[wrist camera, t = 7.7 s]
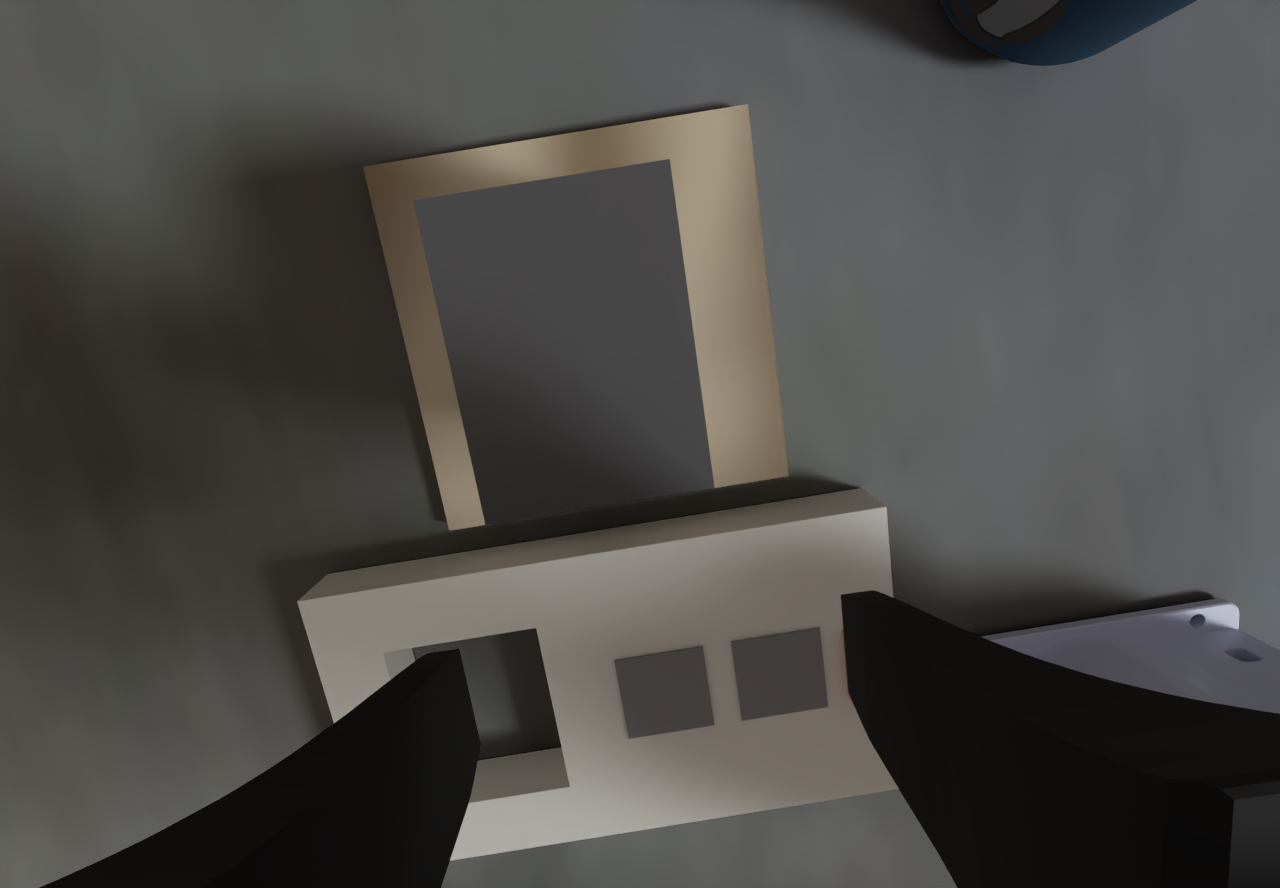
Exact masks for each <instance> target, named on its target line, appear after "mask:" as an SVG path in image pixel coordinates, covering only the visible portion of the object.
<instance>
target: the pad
mask: <svg viewBox="0 0 1280 888" xmlns="http://www.w3.org/2000/svg"><path fill="white" fill-rule="evenodd" d="M666 159H670V164H671V172H672V179H673V186H674V194H675V201H676V208H677V216H678V223H679V230H680V238H681V245H682V252H683V260H684V267H685V274H686V282H687V289H688V296H689V304H690V311H691V318H692V326H693V333H694V340H695V348H696V355H697V362H698V370H699V377H700V384H701V392H702V399H703V406H704V414H705V421H706V428H707V436H708V443H709V450H710V458H711V465H712V472H713V480H714V487H715V488H718V487H724V486H730V485H737V484H743V483H749V482H755V481H761V480H768V479H774V478H780V477H786V476H789V475H788V466H787V457H786V448H785V439H784V430H783V420H782V411H781V402H780V393H779V384H778V375H777V366H776V357H775V348H774V339H773V329H772V320H771V311H770V302H769V293H768V284H767V275H766V266H765V257H764V248H763V238H762V229H761V220H760V211H759V202H758V193H757V184H756V175H755V166H754V157H753V147H752V138H751V129H750V120H749V111H748V104H745V105H739V106H733V107H727V108H721V109H715V110H708V111H702V112H696V113H690V114H684V115H678V116H672V117H665V118H659V119H653V120H647V121H641V122H635V123H628V124H622V125H616V126H610V127H604V128H598V129H592V130H585V131H579V132H573V133H567V134H561V135H555V136H549V137H542V138H536V139H530V140H524V141H518V142H512V143H505V144H499V145H493V146H487V147H481V148H475V149H469V150H462V151H456V152H450V153H444V154H438V155H432V156H425V157H419V158H413V159H407V160H401V161H395V162H389V163H382V164H376V165H370V166H364V167H363V169H364V174H365V178H366V182H367V186H368V190H369V195H370V199H371V203H372V207H373V211H374V216H375V220H376V224H377V228H378V232H379V237H380V241H381V245H382V249H383V254H384V258H385V262H386V266H387V270H388V275H389V279H390V283H391V287H392V291H393V296H394V300H395V304H396V308H397V313H398V317H399V321H400V325H401V329H402V334H403V338H404V342H405V346H406V350H407V355H408V359H409V363H410V367H411V371H412V376H413V380H414V384H415V388H416V393H417V397H418V401H419V405H420V409H421V414H422V418H423V422H424V426H425V430H426V435H427V439H428V443H429V447H430V451H431V456H432V460H433V464H434V468H435V473H436V477H437V481H438V485H439V489H440V494H441V498H442V502H443V506H444V510H445V515H446V519H447V523H448V527H449V531H451V530H457V529H463V528H470V527H476V526H482V525H485V521H484V517H483V512H482V508H481V503H480V499H479V494H478V490H477V485H476V481H475V476H474V472H473V467H472V463H471V458H470V454H469V449H468V445H467V440H466V436H465V431H464V427H463V422H462V418H461V413H460V409H459V404H458V400H457V395H456V391H455V386H454V382H453V377H452V373H451V368H450V364H449V359H448V355H447V350H446V346H445V341H444V337H443V332H442V328H441V324H440V319H439V315H438V310H437V306H436V301H435V297H434V292H433V288H432V283H431V279H430V274H429V270H428V265H427V261H426V256H425V252H424V247H423V243H422V238H421V234H420V229H419V225H418V220H417V216H416V211H415V207H414V202H413V200H418V199H424V198H430V197H437V196H443V195H449V194H455V193H461V192H468V191H474V190H480V189H486V188H492V187H499V186H505V185H511V184H517V183H523V182H529V181H536V180H542V179H548V178H554V177H560V176H567V175H573V174H579V173H585V172H591V171H598V170H604V169H610V168H616V167H622V166H629V165H635V164H641V163H647V162H653V161H660V160H666ZM556 514H557V513H556ZM500 523H501V522H500Z"/></svg>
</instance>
